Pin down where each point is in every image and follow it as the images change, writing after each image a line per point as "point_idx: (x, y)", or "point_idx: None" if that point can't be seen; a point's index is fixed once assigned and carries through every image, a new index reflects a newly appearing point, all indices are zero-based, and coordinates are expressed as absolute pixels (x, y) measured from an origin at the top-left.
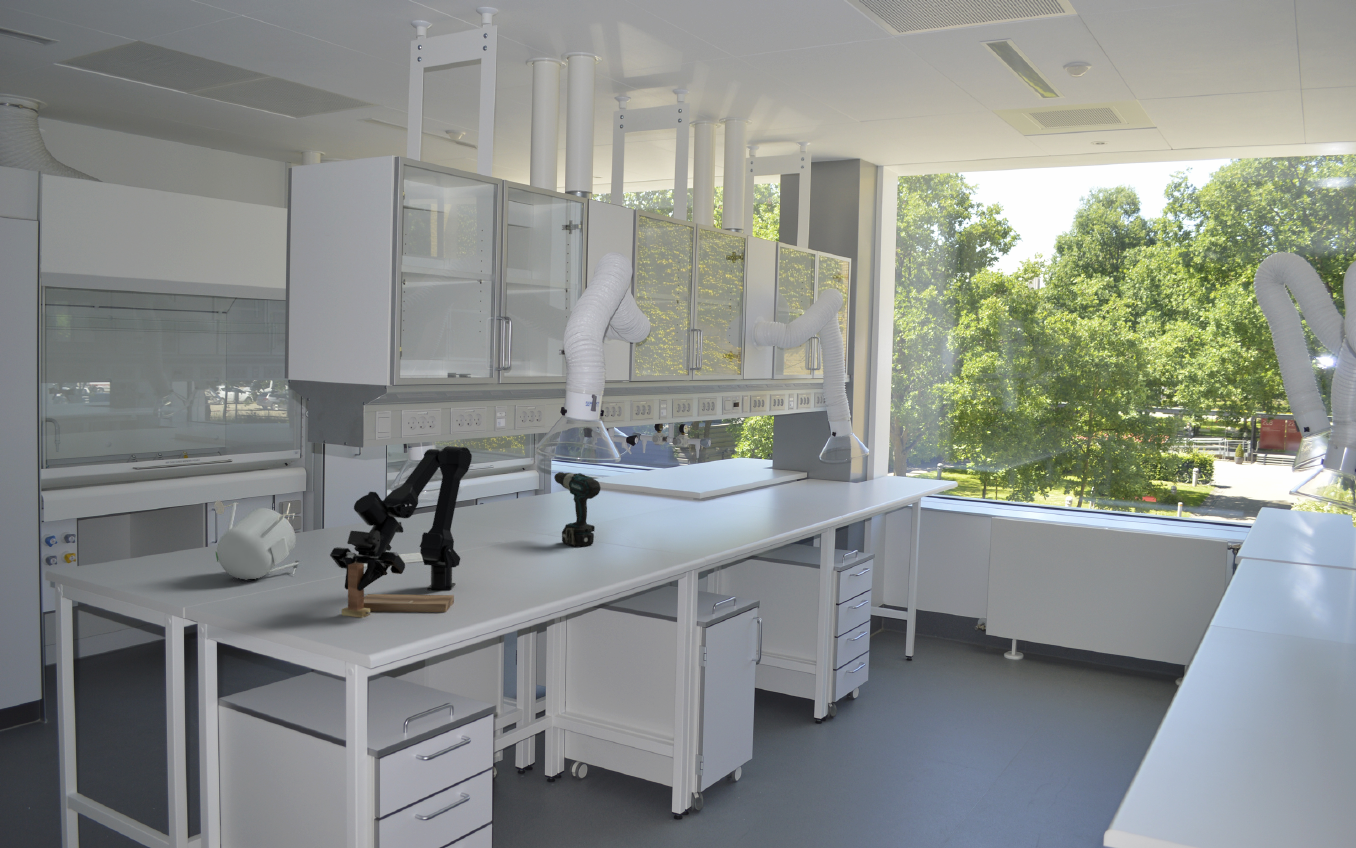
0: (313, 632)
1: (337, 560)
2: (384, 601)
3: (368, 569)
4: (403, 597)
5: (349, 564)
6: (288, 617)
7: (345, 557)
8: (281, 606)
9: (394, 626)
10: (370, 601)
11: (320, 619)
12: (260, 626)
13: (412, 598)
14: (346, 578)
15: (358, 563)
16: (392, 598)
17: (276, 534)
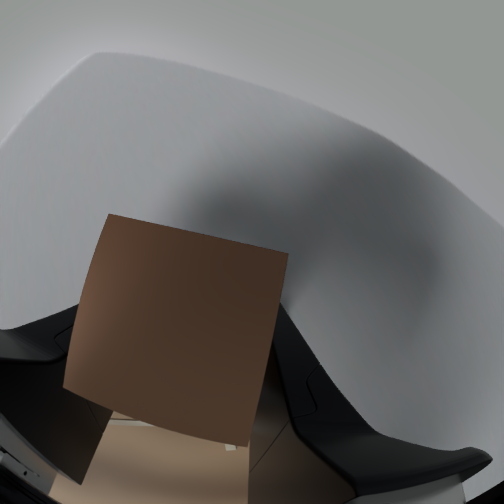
0: (255, 115)
1: (488, 496)
2: (128, 441)
3: (42, 342)
4: (95, 495)
5: (271, 275)
6: (420, 253)
7: (464, 466)
8: (484, 363)
9: (47, 206)
10: (191, 439)
11: (318, 246)
12: (415, 161)
13: (58, 476)
14: (294, 336)
15: (147, 395)
16: (124, 485)
17: None
